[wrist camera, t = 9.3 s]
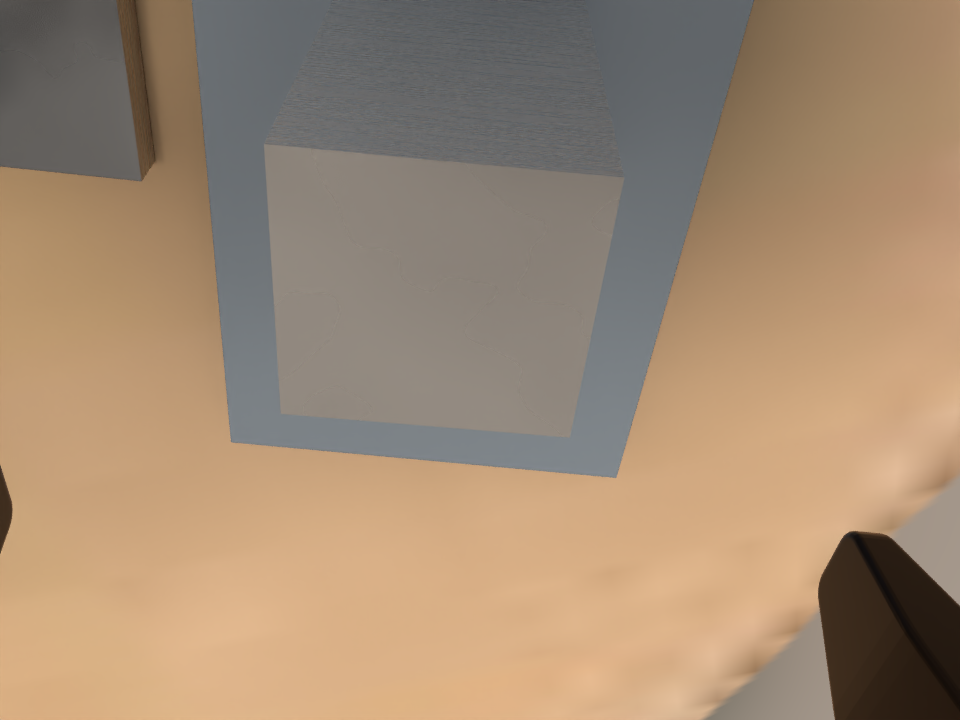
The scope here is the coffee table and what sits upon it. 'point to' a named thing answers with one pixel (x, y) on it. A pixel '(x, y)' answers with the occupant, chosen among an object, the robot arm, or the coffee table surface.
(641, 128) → the slate board
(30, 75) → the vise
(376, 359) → the steel bar
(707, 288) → the coffee table surface
